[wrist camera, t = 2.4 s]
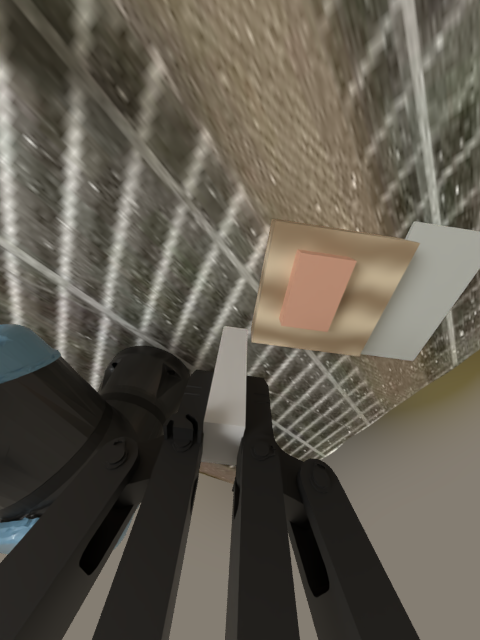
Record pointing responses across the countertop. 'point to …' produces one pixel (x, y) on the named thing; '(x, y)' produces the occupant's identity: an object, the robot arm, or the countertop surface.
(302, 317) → the pink block
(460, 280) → the mat
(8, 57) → the countertop surface
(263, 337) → the board
